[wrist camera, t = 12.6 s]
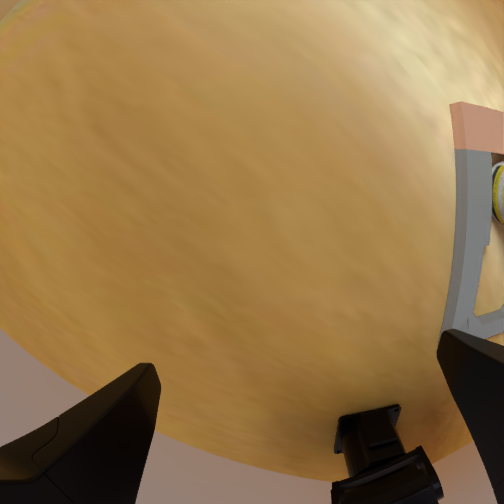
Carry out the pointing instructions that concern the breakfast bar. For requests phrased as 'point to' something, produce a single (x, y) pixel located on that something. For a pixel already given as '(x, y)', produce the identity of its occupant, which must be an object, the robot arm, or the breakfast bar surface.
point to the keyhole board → (472, 215)
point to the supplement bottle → (498, 192)
